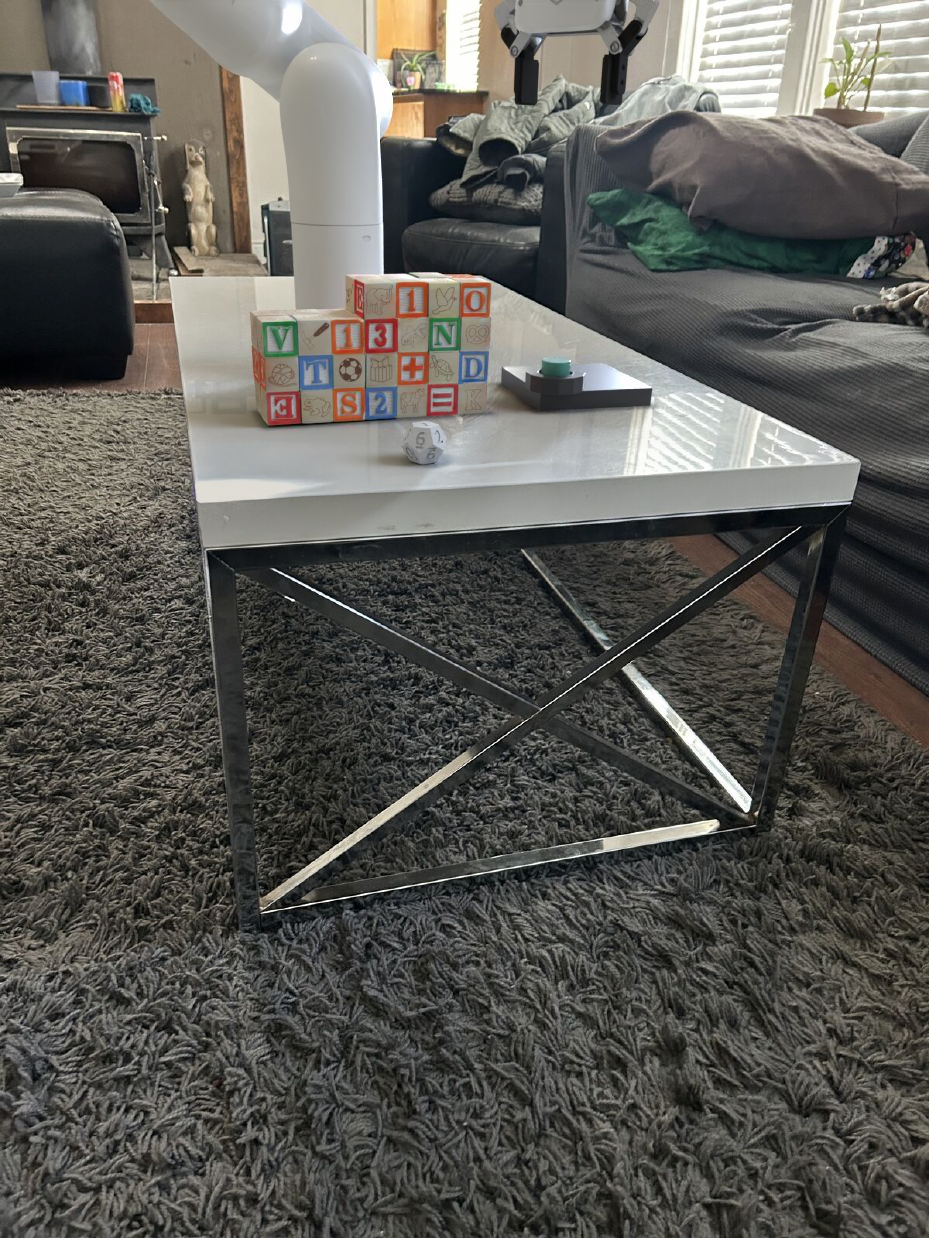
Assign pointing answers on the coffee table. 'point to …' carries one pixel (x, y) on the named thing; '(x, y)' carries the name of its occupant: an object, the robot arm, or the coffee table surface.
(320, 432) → the coffee table surface
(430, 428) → the game die
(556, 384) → the dark grey flat block
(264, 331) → the stack of blocks
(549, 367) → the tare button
